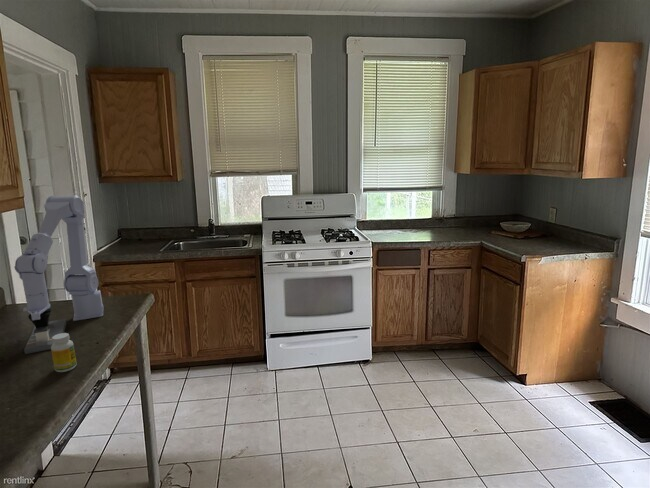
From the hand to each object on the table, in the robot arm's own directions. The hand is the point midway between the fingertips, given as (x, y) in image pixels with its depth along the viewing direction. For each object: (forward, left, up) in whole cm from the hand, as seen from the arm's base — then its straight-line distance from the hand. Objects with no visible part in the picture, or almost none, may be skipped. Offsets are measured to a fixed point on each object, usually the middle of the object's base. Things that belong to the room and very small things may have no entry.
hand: (43, 334), depth 137 cm
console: (0, -5, -3) cm, 6 cm away
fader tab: (0, +3, -1) cm, 3 cm away
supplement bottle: (-8, +22, -3) cm, 24 cm away
